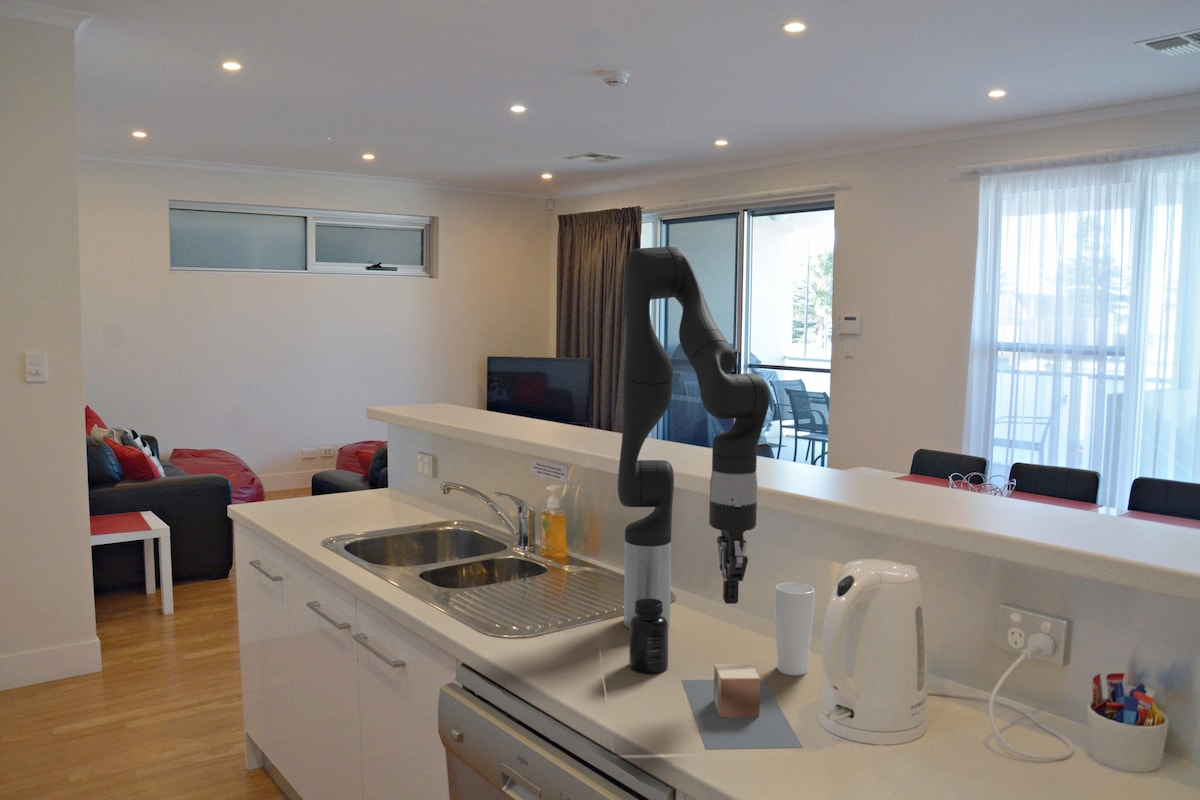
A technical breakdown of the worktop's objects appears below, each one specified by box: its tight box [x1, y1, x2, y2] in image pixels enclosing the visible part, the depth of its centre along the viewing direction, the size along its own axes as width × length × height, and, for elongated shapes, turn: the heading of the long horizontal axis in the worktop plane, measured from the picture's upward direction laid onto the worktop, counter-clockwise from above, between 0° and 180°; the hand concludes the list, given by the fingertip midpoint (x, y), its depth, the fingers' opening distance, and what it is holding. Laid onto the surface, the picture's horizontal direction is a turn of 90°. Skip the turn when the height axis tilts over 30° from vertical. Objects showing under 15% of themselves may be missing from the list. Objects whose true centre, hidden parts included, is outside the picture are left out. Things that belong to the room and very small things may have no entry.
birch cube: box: [713, 663, 761, 717], centre depth 139 cm, size 6×6×6 cm
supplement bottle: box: [628, 598, 669, 675], centre depth 155 cm, size 7×7×12 cm
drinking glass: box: [773, 581, 815, 676], centre depth 154 cm, size 7×7×15 cm
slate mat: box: [681, 678, 804, 750], centre depth 138 cm, size 24×14×1 cm, turn 3°
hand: (730, 602), depth 145 cm, fingers closed
